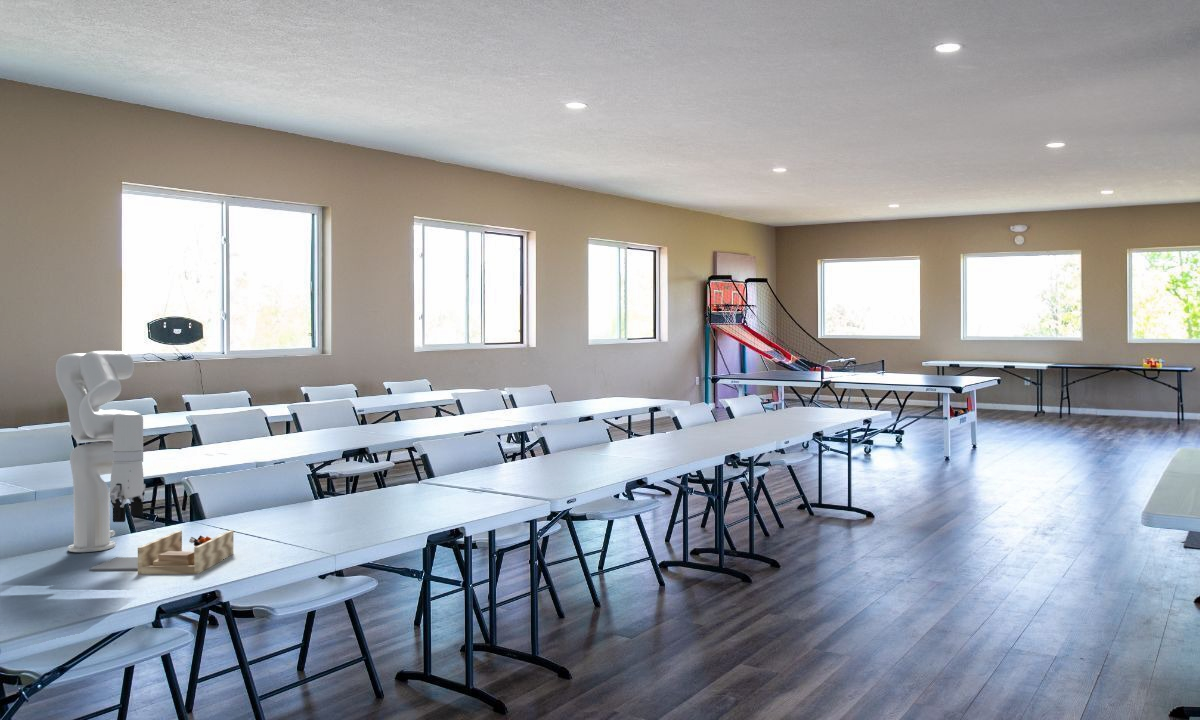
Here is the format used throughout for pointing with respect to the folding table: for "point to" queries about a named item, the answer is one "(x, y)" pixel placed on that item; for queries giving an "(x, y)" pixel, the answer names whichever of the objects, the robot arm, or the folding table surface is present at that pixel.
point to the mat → (118, 564)
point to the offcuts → (175, 558)
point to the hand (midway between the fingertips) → (128, 518)
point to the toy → (199, 540)
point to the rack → (203, 553)
